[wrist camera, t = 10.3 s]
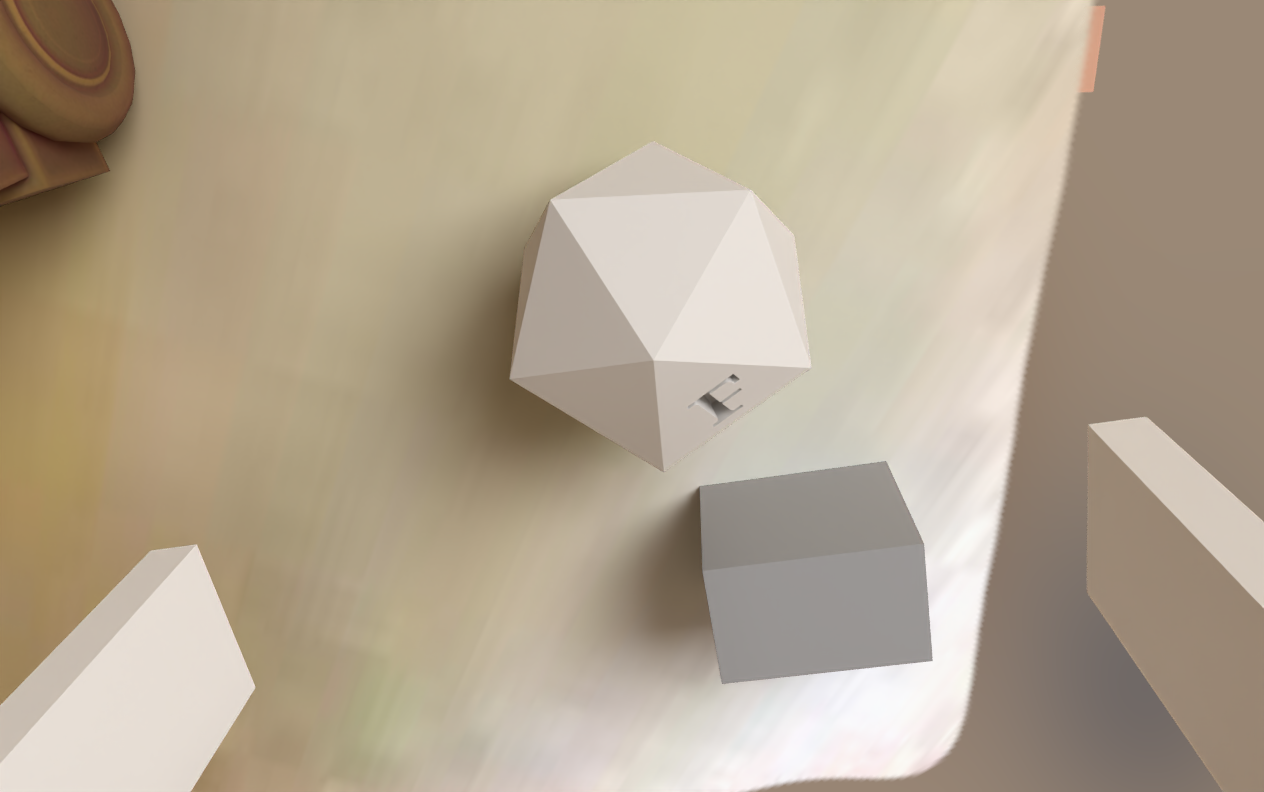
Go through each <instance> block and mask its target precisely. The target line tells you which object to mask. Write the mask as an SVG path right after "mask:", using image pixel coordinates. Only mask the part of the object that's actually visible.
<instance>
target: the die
mask: <svg viewBox="0 0 1264 792" xmlns="http://www.w3.org/2000/svg"><path fill="white" fill-rule="evenodd" d="M809 369H811V360H810V352H809V345H808V337H807V329H806V321H805V314H804V306H803V298H802V291H801V283H800V275H799V268H798V260H797V252H796V244H795V237H794V235H793V234H792V232H791V231H790V230H789V229H788V228H787V227H786V226H785V225H784V224H783V223H782V222H781V221H780V220H779V219H778V218H777V217H776V216H775V215H774V214H773V213H772V211H771V210H770V209H769V208H768V207H767V206H766V205H765V204H764V203H763V202H762V201H761V200H760V199H759V198H758V197H757V196H756V195H755V194H754V193H753V191H752V190H751V189H749V188H747V187H745V186H743V185H741V184H739V183H736V182H734V181H732V180H730V179H728V178H726V177H724V176H722V175H720V174H718V173H716V172H714V171H712V170H710V169H708V168H706V167H704V166H702V165H700V164H698V163H696V162H694V161H692V160H690V159H688V158H686V157H684V156H682V155H680V154H678V153H676V152H674V151H672V150H670V149H668V148H666V147H664V146H662V145H660V144H658V143H656V142H654V141H652V142H650V143H649V144H647V145H645V146H643V147H642V148H640V149H638V150H636V151H635V152H633V153H631V154H629V155H628V156H626V157H624V158H622V159H621V160H619V161H617V162H615V163H614V164H612V165H610V166H608V167H607V168H605V169H603V170H601V171H600V172H598V173H596V174H594V175H593V176H591V177H589V178H587V179H586V180H584V181H582V182H580V183H578V184H577V185H575V186H573V187H571V188H570V189H568V190H566V191H564V192H563V193H561V194H559V195H557V196H556V197H554V198H552V199H550V201H549V203H548V205H547V207H546V208H545V210H544V212H543V214H542V216H541V218H540V220H539V222H538V223H537V225H536V227H535V229H534V231H533V233H532V235H531V237H530V238H529V240H528V242H527V244H526V246H525V248H524V256H523V265H522V273H521V282H520V291H519V300H518V308H517V317H516V326H515V335H514V344H513V352H512V361H511V370H510V380H512V381H513V382H515V383H517V384H518V385H520V386H522V387H523V388H525V389H527V390H528V391H530V392H531V393H533V394H535V395H536V396H538V397H540V398H541V399H543V400H545V401H546V402H548V403H550V404H551V405H553V406H555V407H556V408H558V409H560V410H561V411H563V412H565V413H566V414H568V415H570V416H571V417H573V418H575V419H576V420H578V421H580V422H581V423H583V424H585V425H586V426H588V427H590V428H591V429H593V430H595V431H596V432H598V433H599V434H601V435H603V436H604V437H606V438H608V439H609V440H611V441H613V442H614V443H616V444H618V445H619V446H621V447H623V448H624V449H626V450H628V451H629V452H631V453H633V454H634V455H636V456H638V457H639V458H641V459H643V460H644V461H646V462H648V463H649V464H651V465H653V466H654V467H656V468H658V469H659V470H661V471H663V472H665V471H666V470H668V469H669V468H671V467H672V466H673V465H675V464H676V463H678V462H679V461H681V460H682V459H683V458H685V457H686V456H688V455H689V454H690V453H692V452H693V451H695V450H696V449H698V448H699V447H700V446H702V445H703V444H705V443H706V442H707V441H709V440H710V439H712V438H713V437H715V436H716V435H717V434H719V433H720V432H722V431H723V430H724V429H726V428H727V427H729V426H730V425H732V424H733V423H734V422H736V421H737V420H739V419H740V418H741V417H743V416H744V415H746V414H747V413H749V412H750V411H751V410H753V409H754V408H756V407H757V406H758V405H760V404H761V403H763V402H764V401H766V400H767V399H768V398H770V397H771V396H773V395H774V394H775V393H777V392H778V391H780V390H781V389H783V388H784V387H785V386H787V385H788V384H790V383H791V382H792V381H794V380H795V379H797V378H798V377H799V376H801V375H802V374H804V373H805V372H807V371H808V370H809Z"/></svg>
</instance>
